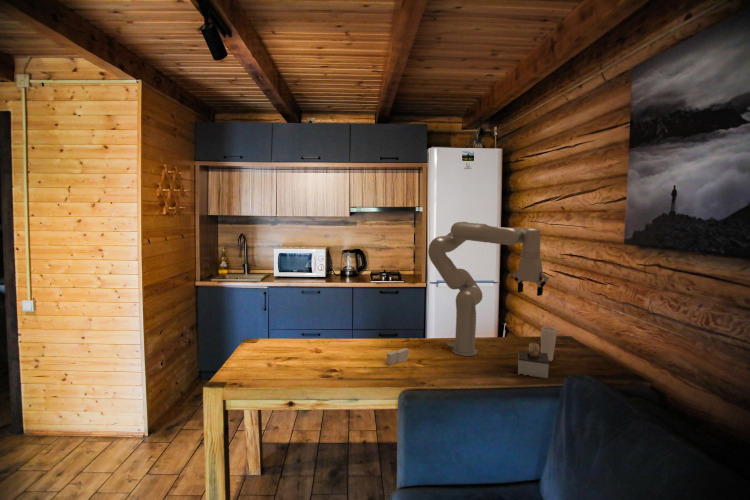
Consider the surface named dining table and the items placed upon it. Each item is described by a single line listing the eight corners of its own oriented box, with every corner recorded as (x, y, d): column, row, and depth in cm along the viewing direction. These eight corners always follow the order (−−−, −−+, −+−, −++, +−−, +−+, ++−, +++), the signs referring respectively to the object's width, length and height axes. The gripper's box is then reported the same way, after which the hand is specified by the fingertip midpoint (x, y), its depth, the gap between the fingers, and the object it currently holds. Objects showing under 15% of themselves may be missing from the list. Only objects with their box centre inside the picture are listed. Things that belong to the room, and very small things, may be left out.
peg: (528, 358, 183) (529, 345, 182) (528, 355, 186) (529, 342, 186) (538, 360, 181) (539, 346, 181) (537, 356, 185) (538, 343, 184)
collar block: (517, 374, 181) (518, 358, 180) (517, 364, 192) (518, 349, 191) (547, 378, 177) (548, 362, 176) (546, 368, 188) (547, 353, 187)
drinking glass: (555, 362, 195) (558, 331, 194) (540, 361, 197) (542, 330, 195) (552, 357, 202) (555, 327, 200) (538, 356, 203) (540, 326, 202)
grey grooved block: (408, 357, 199) (409, 345, 198) (415, 366, 188) (415, 354, 187) (377, 358, 196) (378, 346, 195) (382, 368, 185) (382, 355, 184)
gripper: (509, 254, 191) (508, 291, 193) (544, 258, 178) (542, 298, 179) (519, 253, 196) (518, 290, 197) (553, 257, 182) (552, 295, 184)
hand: (529, 293), depth 188 cm, fingers open, 9 cm apart
